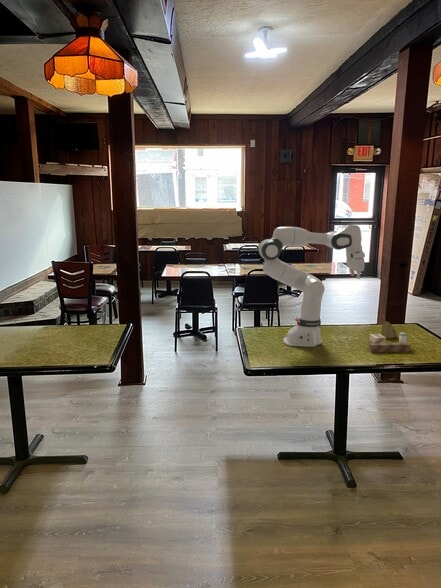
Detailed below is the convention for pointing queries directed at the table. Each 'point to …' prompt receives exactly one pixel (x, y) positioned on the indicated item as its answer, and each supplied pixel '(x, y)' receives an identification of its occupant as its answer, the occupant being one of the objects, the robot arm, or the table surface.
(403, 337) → the salt shaker
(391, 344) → the brown wooden bar
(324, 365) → the table surface
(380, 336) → the maple block
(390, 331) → the rock
